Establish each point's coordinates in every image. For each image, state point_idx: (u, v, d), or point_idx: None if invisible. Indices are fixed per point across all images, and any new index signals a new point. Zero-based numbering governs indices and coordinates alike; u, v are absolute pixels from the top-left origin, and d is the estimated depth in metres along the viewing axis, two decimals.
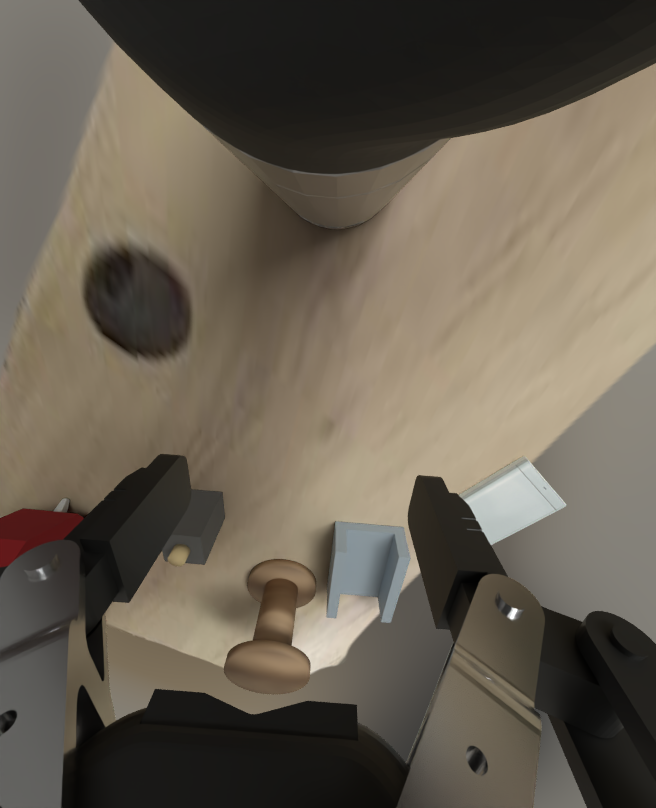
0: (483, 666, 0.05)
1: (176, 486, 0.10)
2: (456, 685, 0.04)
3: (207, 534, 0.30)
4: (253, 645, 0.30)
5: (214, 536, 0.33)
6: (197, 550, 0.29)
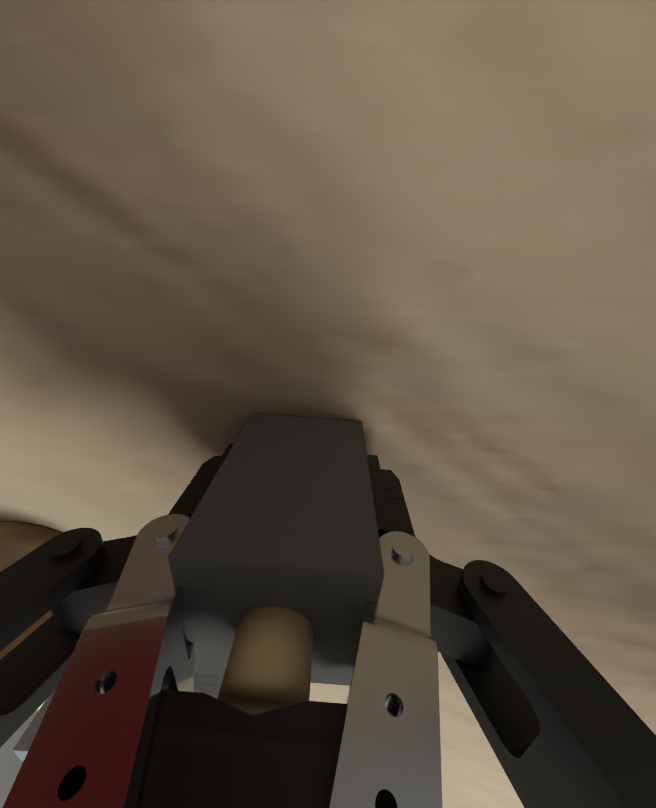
0: (389, 617, 0.06)
1: None
2: (369, 646, 0.05)
3: None
4: None
5: None
6: None
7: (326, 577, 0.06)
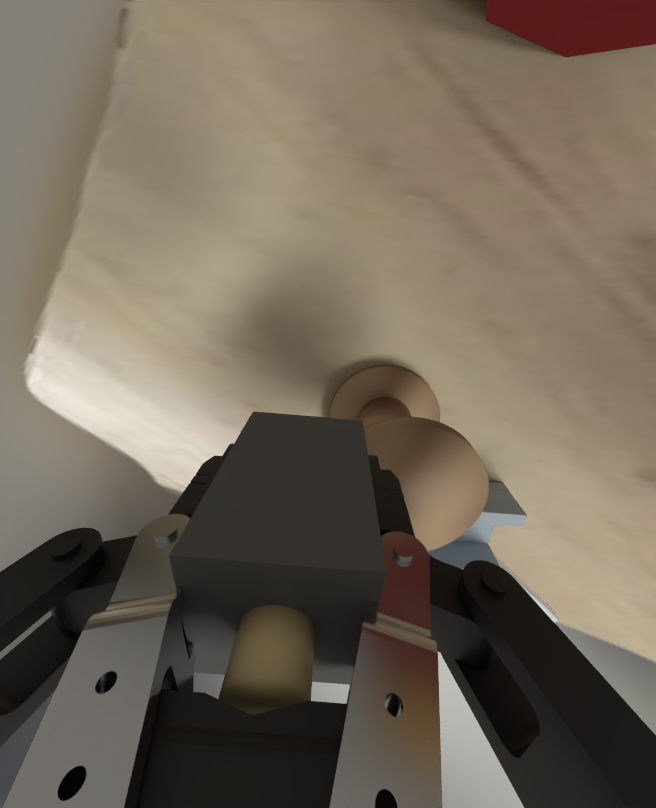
0: (389, 617, 0.06)
1: None
2: (369, 646, 0.05)
3: None
4: None
5: None
6: None
7: (329, 576, 0.06)
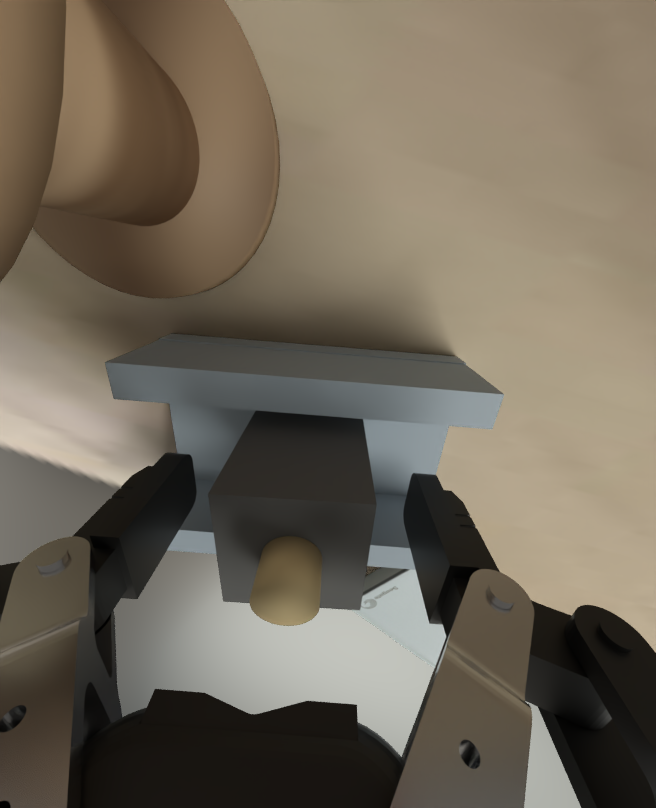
0: (474, 660, 0.05)
1: (182, 484, 0.10)
2: (448, 680, 0.04)
3: None
4: None
5: None
6: None
7: (332, 509, 0.07)
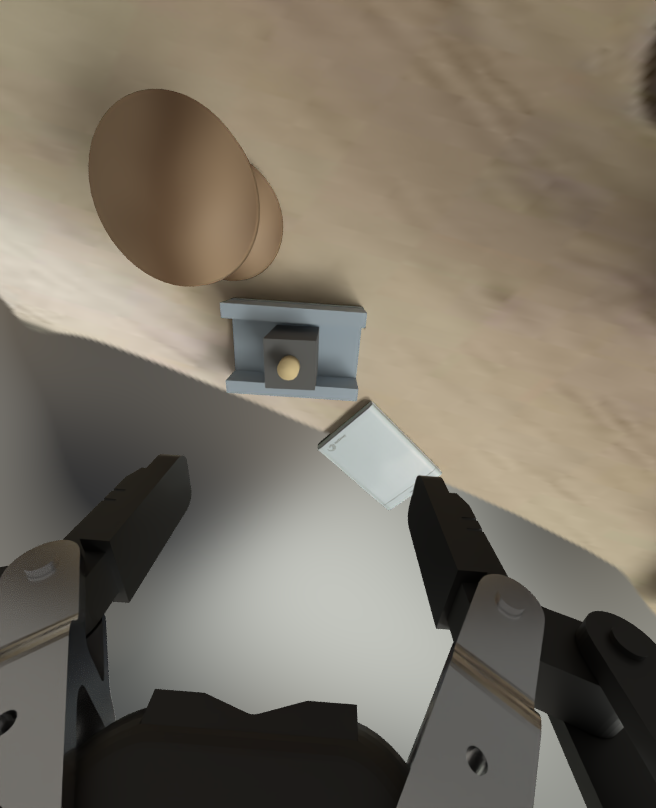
0: (483, 666, 0.05)
1: (176, 485, 0.10)
2: (456, 685, 0.04)
3: None
4: (253, 176, 0.17)
5: None
6: (290, 383, 0.24)
7: (302, 343, 0.23)
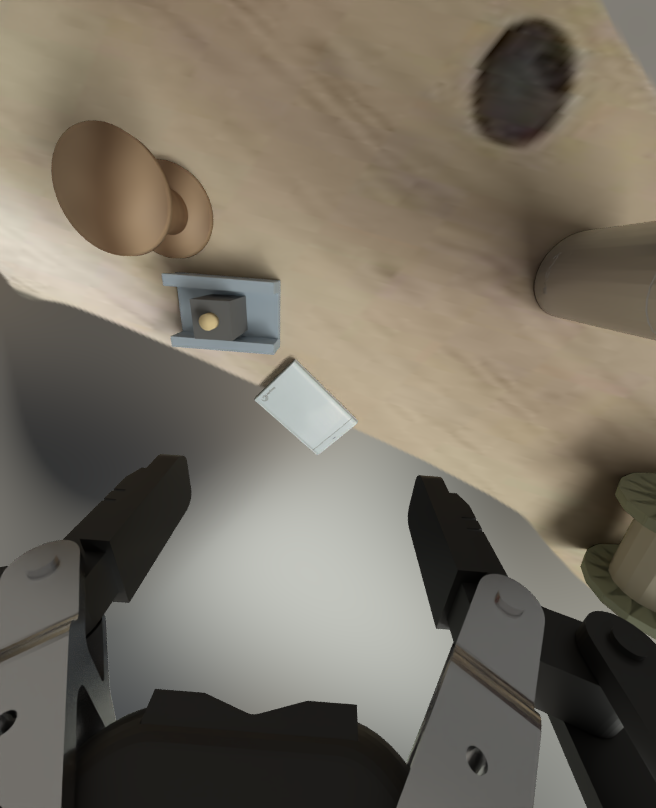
0: (483, 666, 0.05)
1: (176, 486, 0.10)
2: (456, 685, 0.04)
3: None
4: (164, 178, 0.24)
5: None
6: (213, 335, 0.32)
7: (219, 303, 0.30)
